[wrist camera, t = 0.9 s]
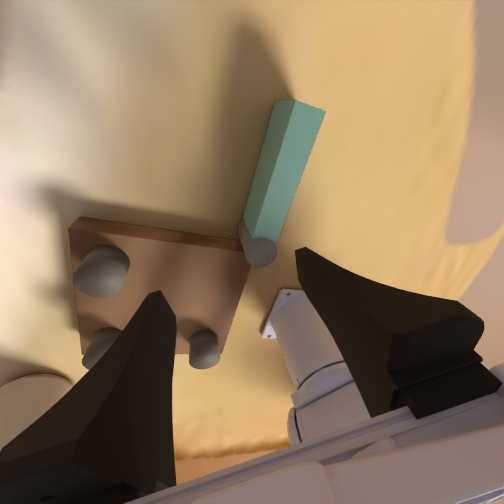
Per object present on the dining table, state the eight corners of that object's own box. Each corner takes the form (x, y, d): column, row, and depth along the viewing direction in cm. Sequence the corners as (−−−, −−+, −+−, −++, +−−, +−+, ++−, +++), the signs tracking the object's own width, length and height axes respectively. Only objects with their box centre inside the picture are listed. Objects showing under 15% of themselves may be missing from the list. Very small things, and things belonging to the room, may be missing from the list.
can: (-17, 382, 25) (-154, 566, 15) (55, 361, 25) (-34, 526, 16) (33, 412, 29) (-49, 571, 19) (94, 393, 30) (44, 539, 20)
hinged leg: (258, 241, 22) (271, 268, 19) (234, 238, 22) (242, 265, 18) (302, 110, 17) (331, 112, 14) (272, 99, 16) (294, 98, 13)
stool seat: (250, 242, 23) (261, 270, 19) (220, 339, 29) (223, 374, 25) (79, 216, 18) (50, 246, 14) (89, 337, 25) (70, 379, 21)
